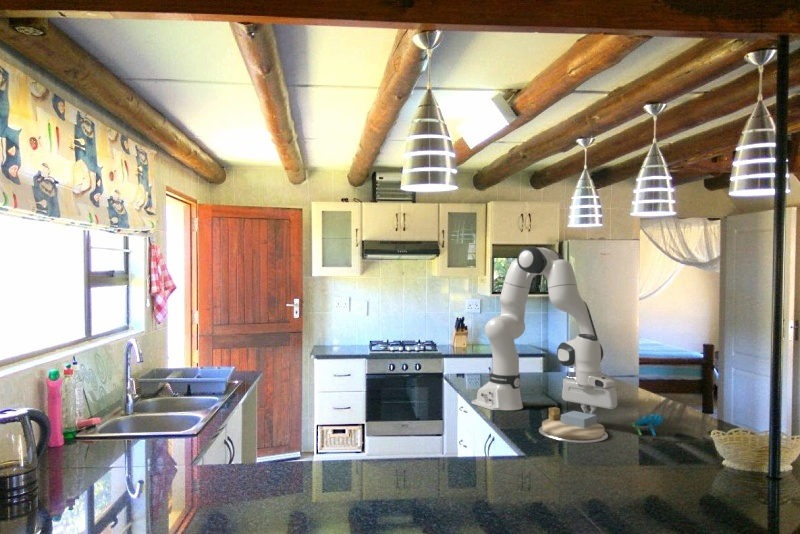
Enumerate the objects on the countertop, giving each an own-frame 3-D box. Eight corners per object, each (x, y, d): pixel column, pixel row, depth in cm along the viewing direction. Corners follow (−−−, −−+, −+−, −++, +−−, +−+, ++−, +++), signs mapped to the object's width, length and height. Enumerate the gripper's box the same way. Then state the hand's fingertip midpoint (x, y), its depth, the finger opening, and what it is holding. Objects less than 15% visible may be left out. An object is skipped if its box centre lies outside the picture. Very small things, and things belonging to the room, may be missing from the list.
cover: (560, 423, 190) (560, 414, 190) (573, 418, 196) (573, 410, 196) (584, 428, 183) (584, 419, 183) (596, 423, 189) (596, 415, 189)
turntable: (618, 435, 182) (618, 417, 182) (571, 442, 173) (571, 424, 173) (573, 420, 201) (573, 404, 201) (529, 427, 192) (529, 410, 192)
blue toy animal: (658, 425, 191) (664, 410, 184) (665, 440, 187) (672, 425, 180) (627, 429, 191) (633, 414, 184) (634, 444, 187) (640, 430, 180)
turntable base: (525, 432, 188) (525, 430, 188) (561, 421, 203) (561, 420, 203) (585, 447, 170) (585, 445, 171) (620, 434, 186) (620, 432, 186)
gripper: (558, 376, 200) (558, 413, 200) (610, 383, 185) (611, 423, 184) (567, 374, 204) (567, 410, 204) (619, 381, 189) (619, 420, 188)
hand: (588, 417), depth 194 cm, fingers closed
